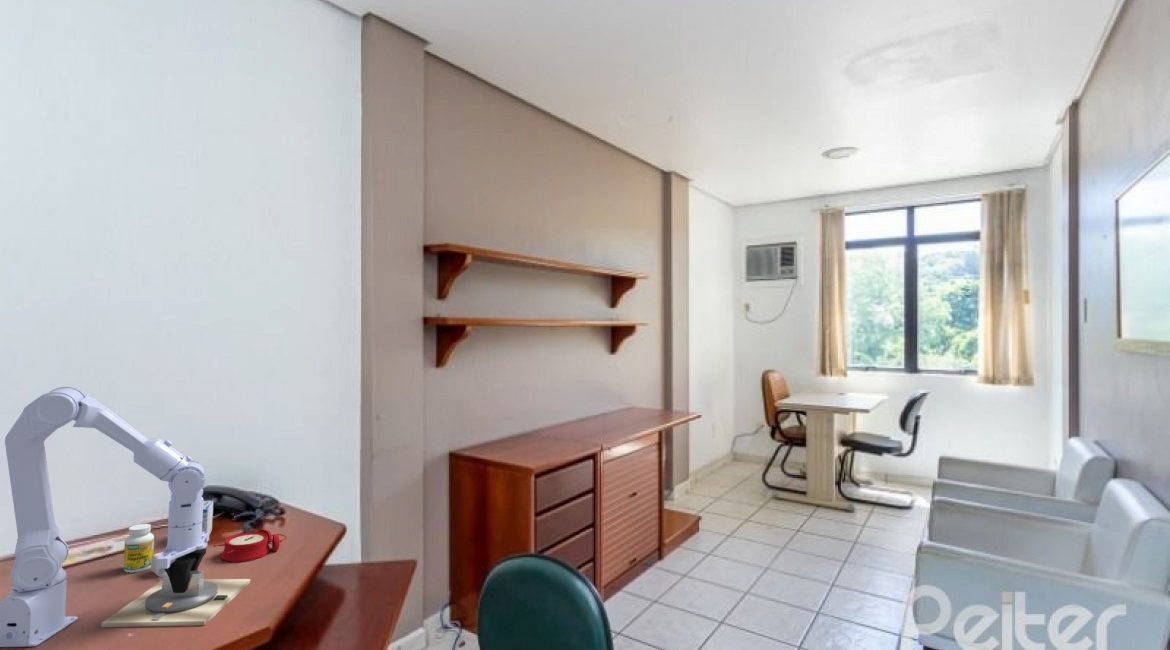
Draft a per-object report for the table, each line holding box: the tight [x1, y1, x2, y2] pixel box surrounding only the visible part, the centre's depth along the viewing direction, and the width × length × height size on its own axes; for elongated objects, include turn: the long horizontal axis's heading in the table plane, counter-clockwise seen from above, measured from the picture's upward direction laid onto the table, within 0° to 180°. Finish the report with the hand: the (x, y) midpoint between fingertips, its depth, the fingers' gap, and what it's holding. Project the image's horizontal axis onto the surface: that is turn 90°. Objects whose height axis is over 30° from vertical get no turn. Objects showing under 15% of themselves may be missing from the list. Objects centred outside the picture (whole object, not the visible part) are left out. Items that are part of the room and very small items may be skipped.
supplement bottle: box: [123, 523, 155, 574], centre depth 130 cm, size 5×5×10 cm
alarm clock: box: [213, 528, 287, 563], centre depth 142 cm, size 10×6×15 cm
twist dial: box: [145, 570, 218, 613], centre depth 115 cm, size 12×12×5 cm
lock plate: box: [100, 578, 251, 628], centre depth 115 cm, size 18×18×1 cm
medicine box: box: [202, 500, 214, 536], centre depth 149 cm, size 8×4×9 cm, turn 25°
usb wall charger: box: [150, 551, 166, 578], centre depth 128 cm, size 4×7×4 cm, turn 55°
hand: (182, 589), depth 115 cm, fingers closed on twist dial, 2 cm apart
